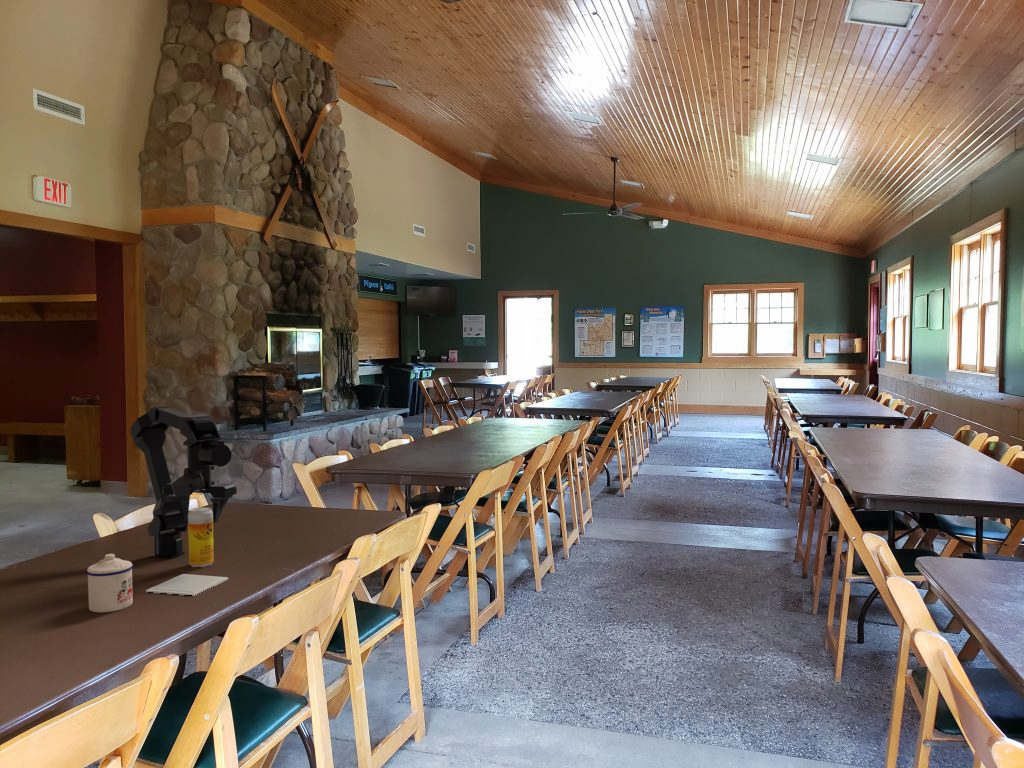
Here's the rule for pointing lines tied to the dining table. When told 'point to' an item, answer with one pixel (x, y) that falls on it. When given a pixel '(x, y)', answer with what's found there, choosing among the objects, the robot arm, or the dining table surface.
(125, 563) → the teacup with lid
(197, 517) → the beer can
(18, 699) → the dining table surface
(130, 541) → the dining table surface
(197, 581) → the coaster
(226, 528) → the dining table surface
